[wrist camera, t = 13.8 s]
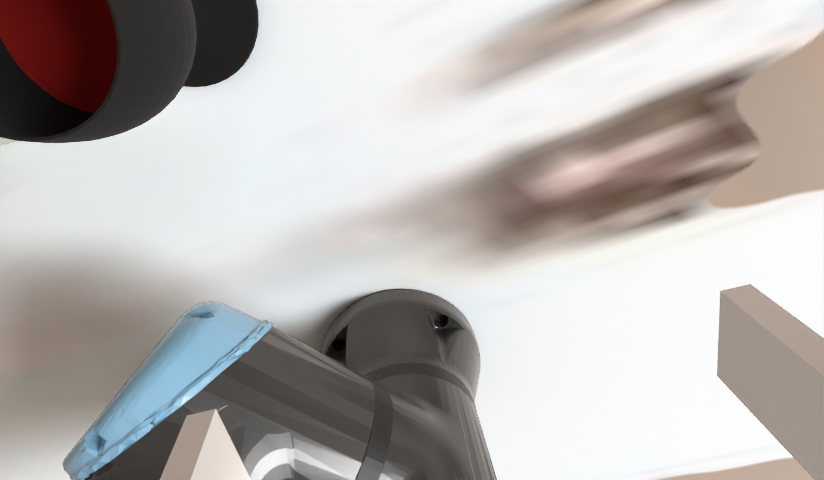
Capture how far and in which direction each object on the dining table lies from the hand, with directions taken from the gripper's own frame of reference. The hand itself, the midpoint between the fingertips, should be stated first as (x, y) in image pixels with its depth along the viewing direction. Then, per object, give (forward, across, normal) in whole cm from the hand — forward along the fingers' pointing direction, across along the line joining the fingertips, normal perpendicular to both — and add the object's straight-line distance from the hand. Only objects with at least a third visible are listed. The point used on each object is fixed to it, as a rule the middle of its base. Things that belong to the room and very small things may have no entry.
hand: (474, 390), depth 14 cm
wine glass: (+32, +13, -11) cm, 36 cm away
